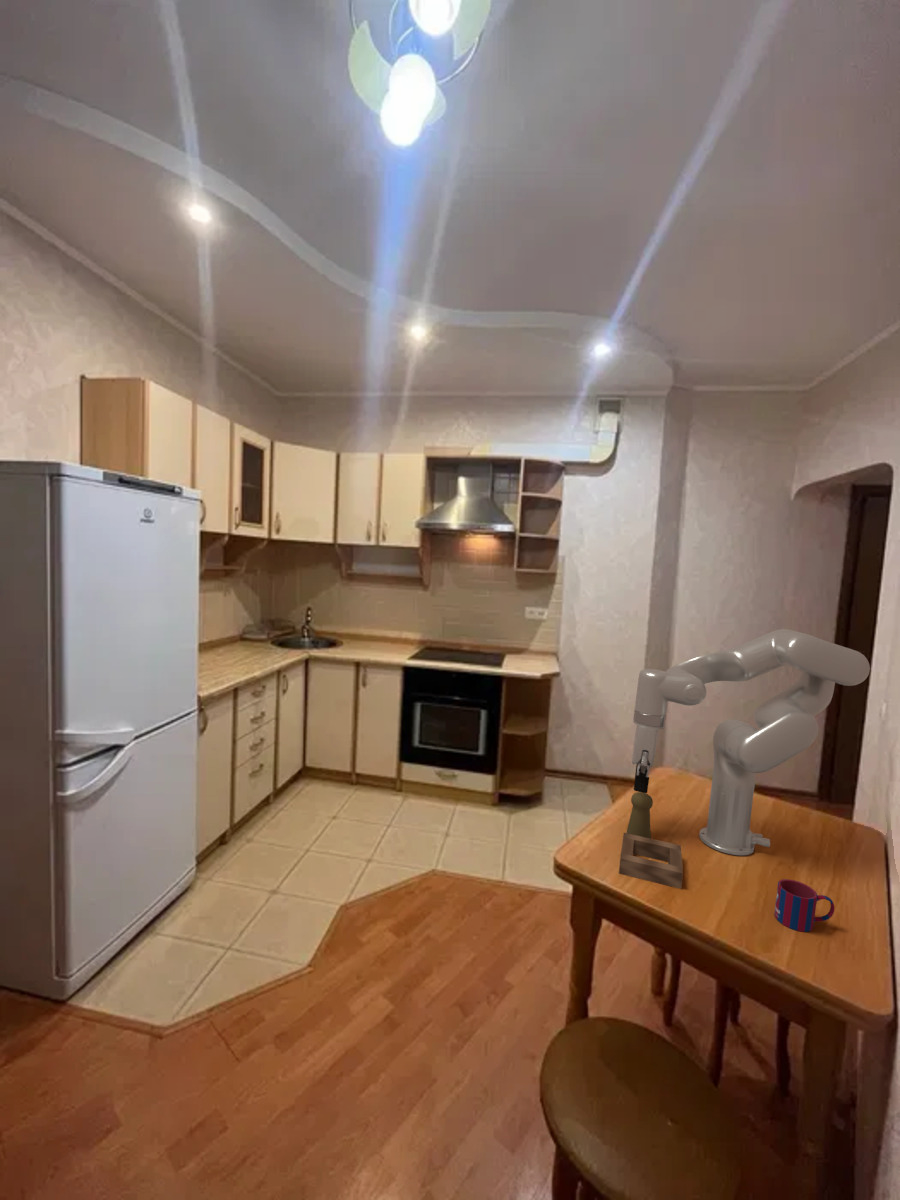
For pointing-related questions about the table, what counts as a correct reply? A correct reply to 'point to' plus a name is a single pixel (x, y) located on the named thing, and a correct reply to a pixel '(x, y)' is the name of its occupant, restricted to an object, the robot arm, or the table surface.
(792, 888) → the mug
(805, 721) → the robot arm
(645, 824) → the olive knobbed peg
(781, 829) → the table surface
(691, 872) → the table surface
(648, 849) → the walnut holder
